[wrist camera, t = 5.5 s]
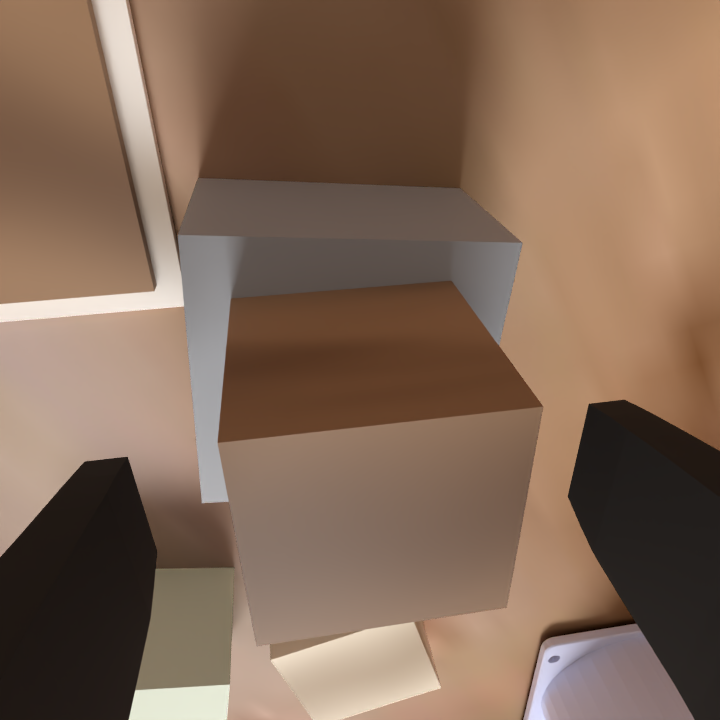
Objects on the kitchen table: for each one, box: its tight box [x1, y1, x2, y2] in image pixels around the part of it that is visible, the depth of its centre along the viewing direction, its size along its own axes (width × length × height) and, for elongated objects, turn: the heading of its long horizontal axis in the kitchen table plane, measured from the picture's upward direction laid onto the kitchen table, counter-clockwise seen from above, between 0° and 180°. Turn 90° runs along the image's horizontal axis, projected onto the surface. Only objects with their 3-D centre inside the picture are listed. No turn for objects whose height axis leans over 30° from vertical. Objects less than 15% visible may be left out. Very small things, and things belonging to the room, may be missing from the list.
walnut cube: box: [217, 281, 543, 646], centre depth 10 cm, size 4×4×4 cm
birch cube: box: [270, 621, 441, 720], centre depth 18 cm, size 4×4×4 cm
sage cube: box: [129, 568, 234, 720], centre depth 18 cm, size 4×4×4 cm
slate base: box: [178, 178, 522, 503], centre depth 13 cm, size 6×6×4 cm
